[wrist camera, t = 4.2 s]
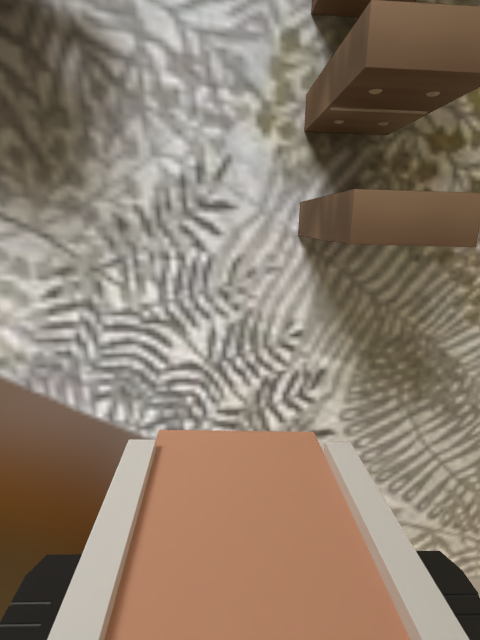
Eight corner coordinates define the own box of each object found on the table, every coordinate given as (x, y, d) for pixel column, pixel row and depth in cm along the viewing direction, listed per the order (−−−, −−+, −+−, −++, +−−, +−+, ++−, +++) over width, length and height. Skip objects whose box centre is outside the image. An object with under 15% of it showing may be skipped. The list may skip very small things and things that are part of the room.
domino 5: (300, 202, 24) (354, 188, 15) (379, 204, 25) (485, 193, 15) (298, 237, 25) (349, 246, 15) (376, 239, 25) (475, 249, 16)
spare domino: (159, 429, 13) (-28, 1091, 3) (313, 431, 13) (596, 1036, 3) (159, 487, 13) (-2, 1219, 3) (308, 488, 14) (539, 1157, 4)
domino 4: (306, 94, 23) (371, -1, 13) (391, 97, 23) (514, 8, 14) (304, 133, 24) (365, 70, 14) (386, 136, 24) (503, 77, 14)
